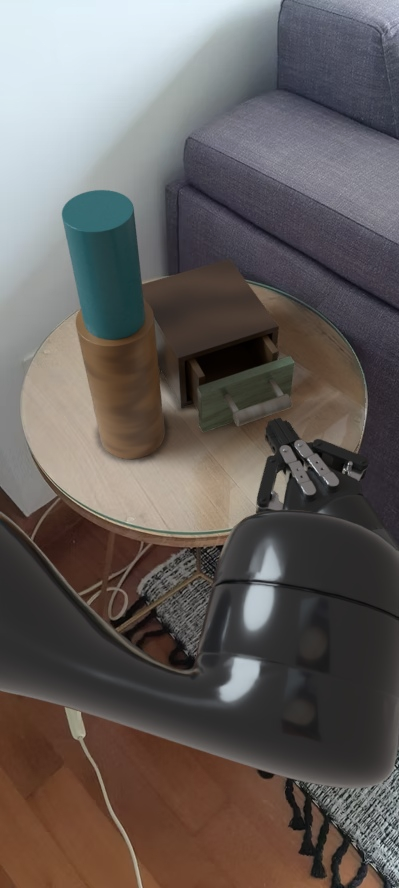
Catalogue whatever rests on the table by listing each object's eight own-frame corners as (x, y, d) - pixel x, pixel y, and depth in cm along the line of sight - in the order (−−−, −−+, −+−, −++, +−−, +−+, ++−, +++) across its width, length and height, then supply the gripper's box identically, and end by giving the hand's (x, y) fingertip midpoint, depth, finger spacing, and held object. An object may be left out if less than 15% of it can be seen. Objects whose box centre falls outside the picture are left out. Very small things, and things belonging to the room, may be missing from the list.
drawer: (307, 428, 80) (313, 388, 75) (217, 460, 78) (217, 422, 72) (244, 336, 90) (246, 295, 84) (163, 362, 87) (159, 321, 82)
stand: (112, 467, 78) (89, 355, 64) (91, 420, 83) (65, 305, 68) (174, 446, 80) (165, 331, 66) (151, 401, 84) (137, 284, 70)
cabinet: (274, 377, 86) (279, 325, 79) (181, 408, 83) (178, 358, 77) (228, 310, 94) (229, 258, 87) (142, 337, 91) (136, 285, 84)
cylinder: (94, 347, 65) (73, 239, 55) (75, 308, 68) (53, 200, 58) (154, 329, 66) (143, 220, 56) (133, 291, 69) (119, 183, 60)
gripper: (427, 510, 62) (331, 381, 72) (297, 563, 59) (216, 421, 69) (409, 550, 68) (322, 426, 78) (290, 600, 65) (216, 464, 75)
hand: (272, 424), depth 74 cm, fingers closed
